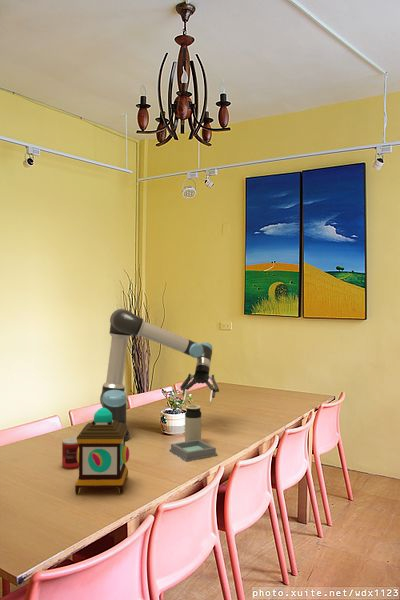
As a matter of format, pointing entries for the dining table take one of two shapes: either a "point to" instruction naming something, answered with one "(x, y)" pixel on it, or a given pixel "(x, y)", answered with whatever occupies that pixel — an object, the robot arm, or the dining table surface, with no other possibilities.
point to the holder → (193, 450)
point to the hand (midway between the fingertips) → (197, 402)
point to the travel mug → (192, 423)
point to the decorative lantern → (102, 453)
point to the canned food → (69, 453)
